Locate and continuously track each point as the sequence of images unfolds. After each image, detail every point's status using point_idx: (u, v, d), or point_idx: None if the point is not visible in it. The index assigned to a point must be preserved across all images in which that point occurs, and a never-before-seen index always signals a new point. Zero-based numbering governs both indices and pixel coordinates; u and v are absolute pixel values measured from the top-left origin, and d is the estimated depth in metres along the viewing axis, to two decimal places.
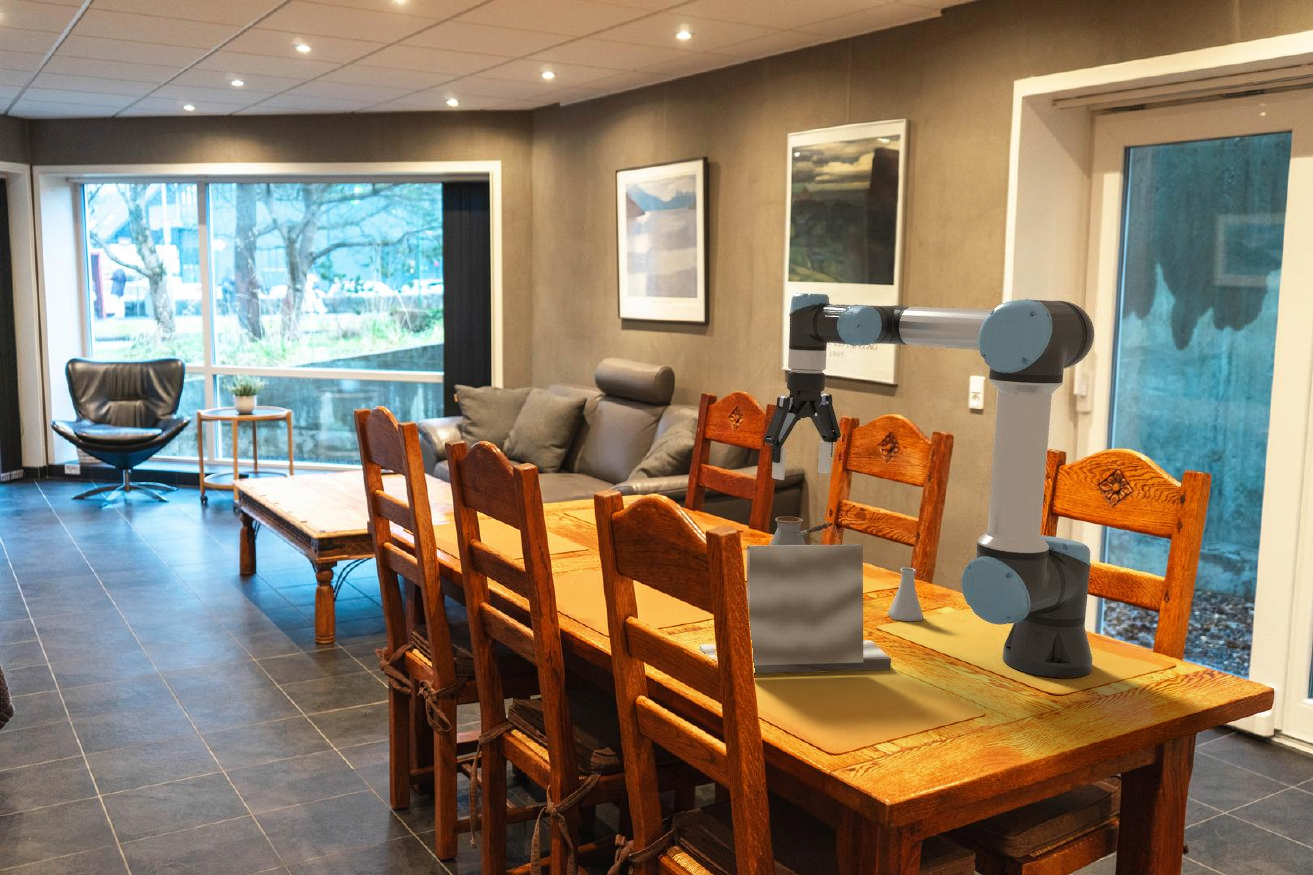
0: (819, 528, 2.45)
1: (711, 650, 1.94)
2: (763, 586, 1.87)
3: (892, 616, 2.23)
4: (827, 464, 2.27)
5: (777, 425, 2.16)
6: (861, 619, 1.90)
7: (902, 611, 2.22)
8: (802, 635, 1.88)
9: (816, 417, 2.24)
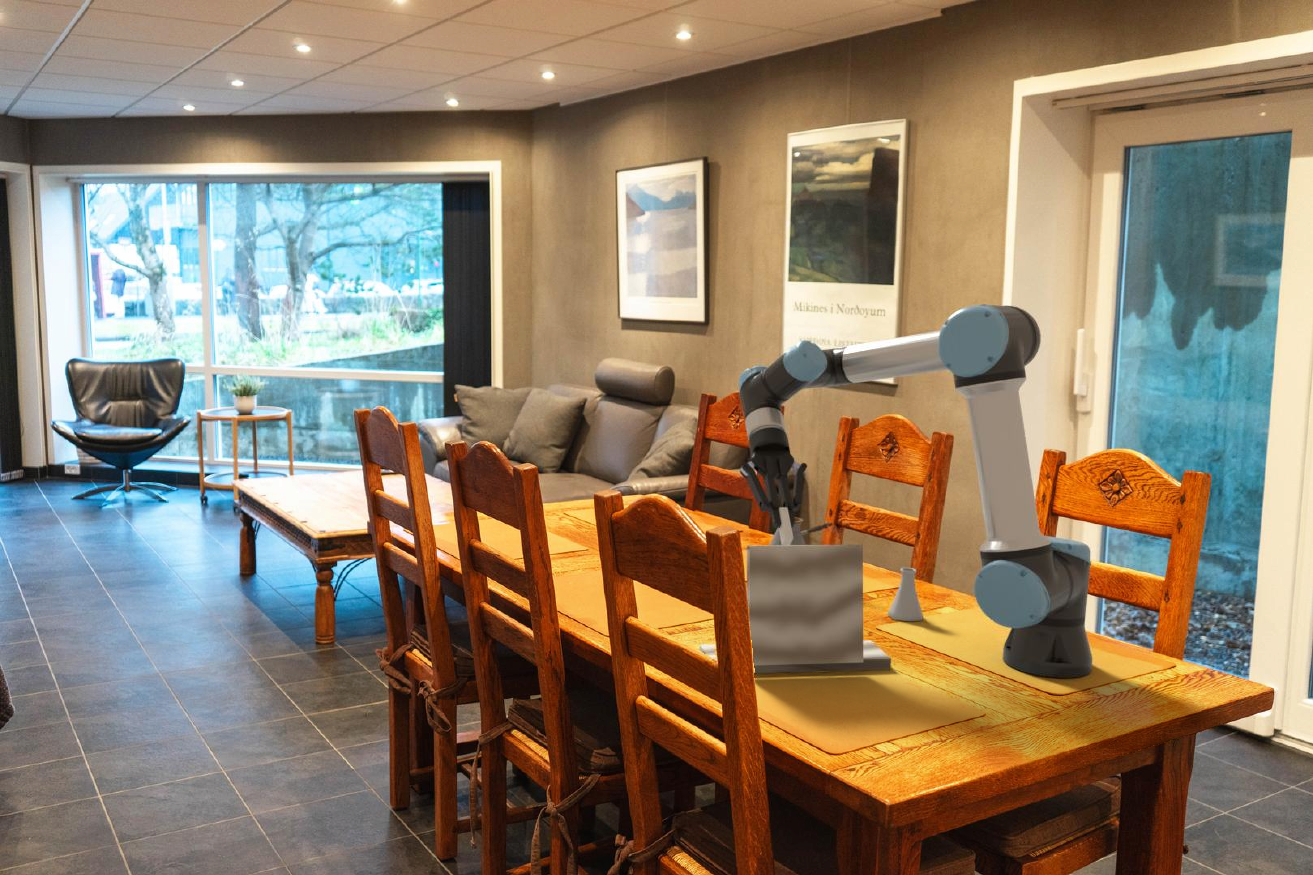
0: (819, 528, 2.45)
1: (711, 650, 1.94)
2: (763, 586, 1.87)
3: (892, 616, 2.23)
4: (787, 529, 2.00)
5: (756, 489, 2.04)
6: (861, 619, 1.90)
7: (902, 611, 2.22)
8: (802, 635, 1.88)
9: (779, 477, 2.07)
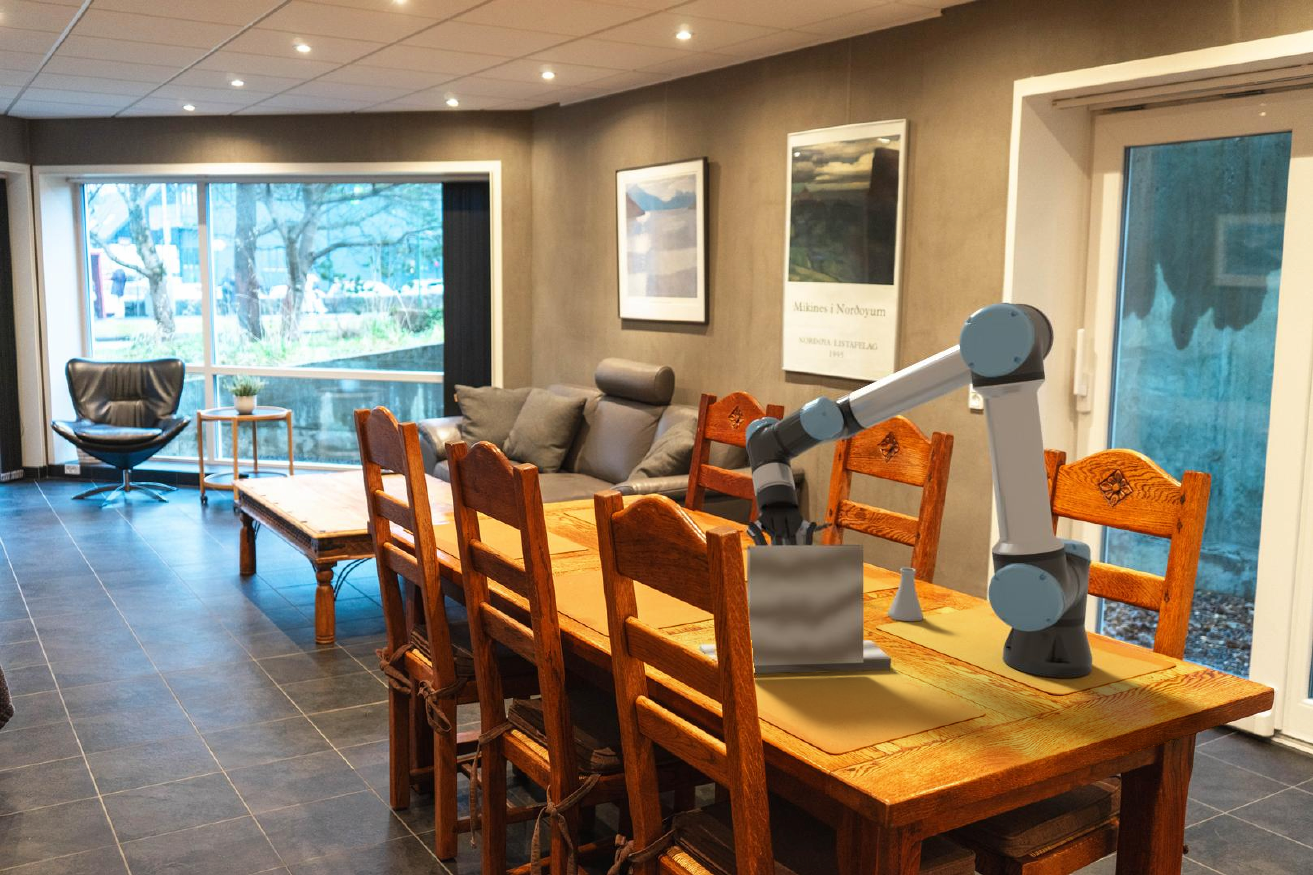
0: (819, 528, 2.45)
1: (711, 650, 1.94)
2: (764, 587, 1.87)
3: (892, 616, 2.23)
4: None
5: None
6: (861, 619, 1.89)
7: (902, 611, 2.22)
8: (802, 635, 1.88)
9: (788, 537, 1.99)
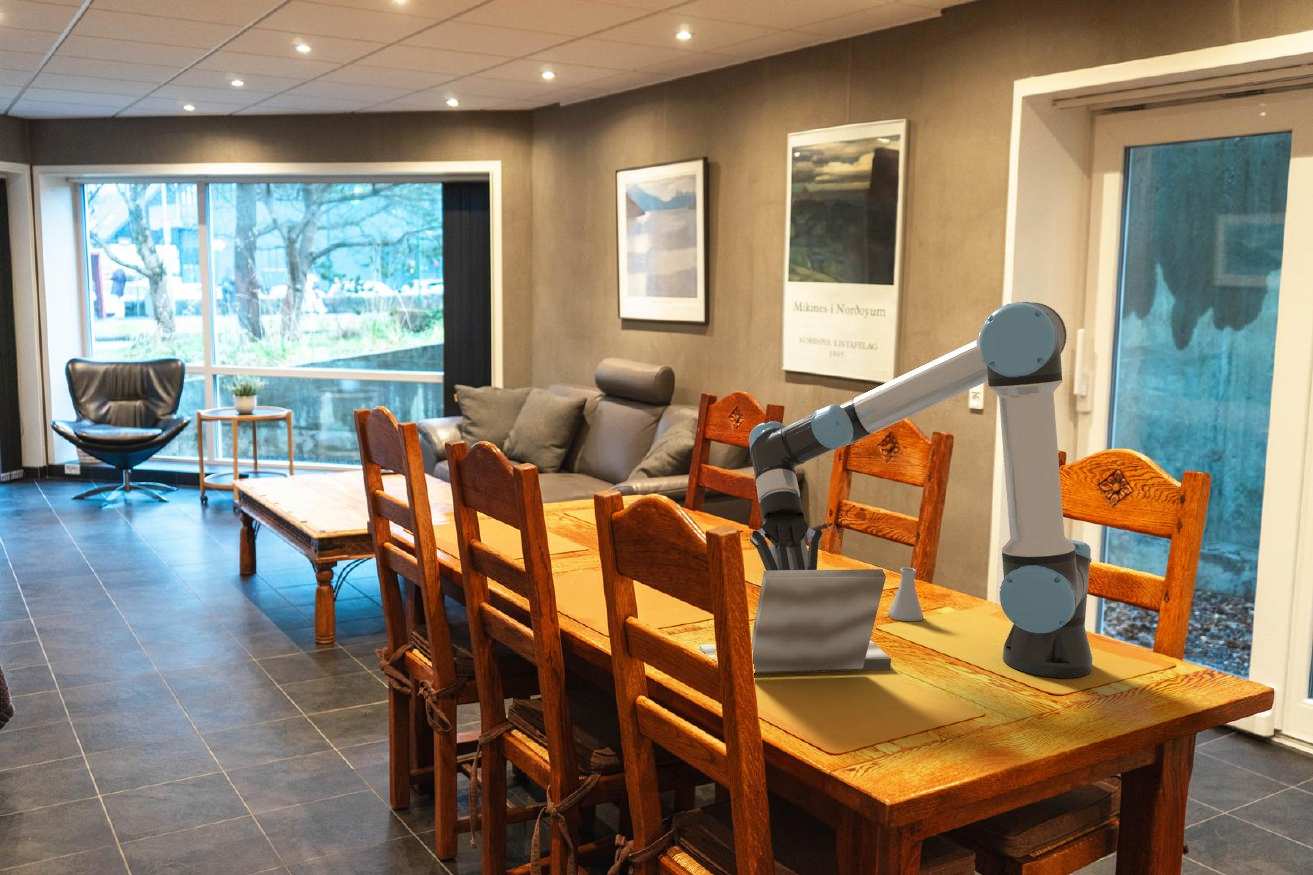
0: (819, 528, 2.45)
1: (711, 650, 1.94)
2: (775, 611, 1.80)
3: (892, 616, 2.23)
4: None
5: (767, 560, 1.90)
6: (869, 636, 1.86)
7: (902, 611, 2.22)
8: (806, 648, 1.85)
9: (792, 546, 1.93)
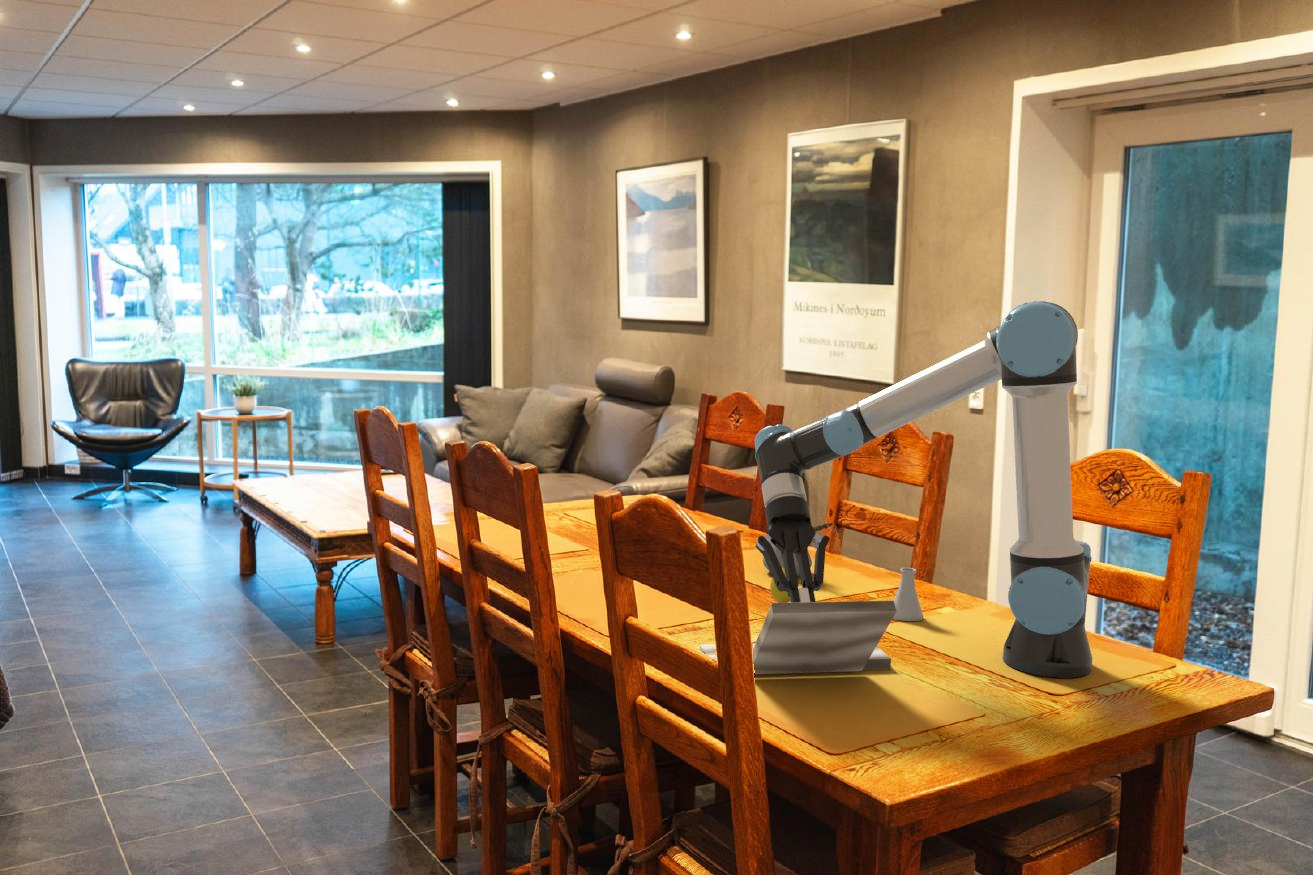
0: (819, 528, 2.45)
1: (711, 650, 1.94)
2: (779, 635, 1.77)
3: None
4: None
5: (773, 567, 1.86)
6: (872, 650, 1.84)
7: (902, 611, 2.22)
8: (807, 658, 1.85)
9: (799, 552, 1.88)
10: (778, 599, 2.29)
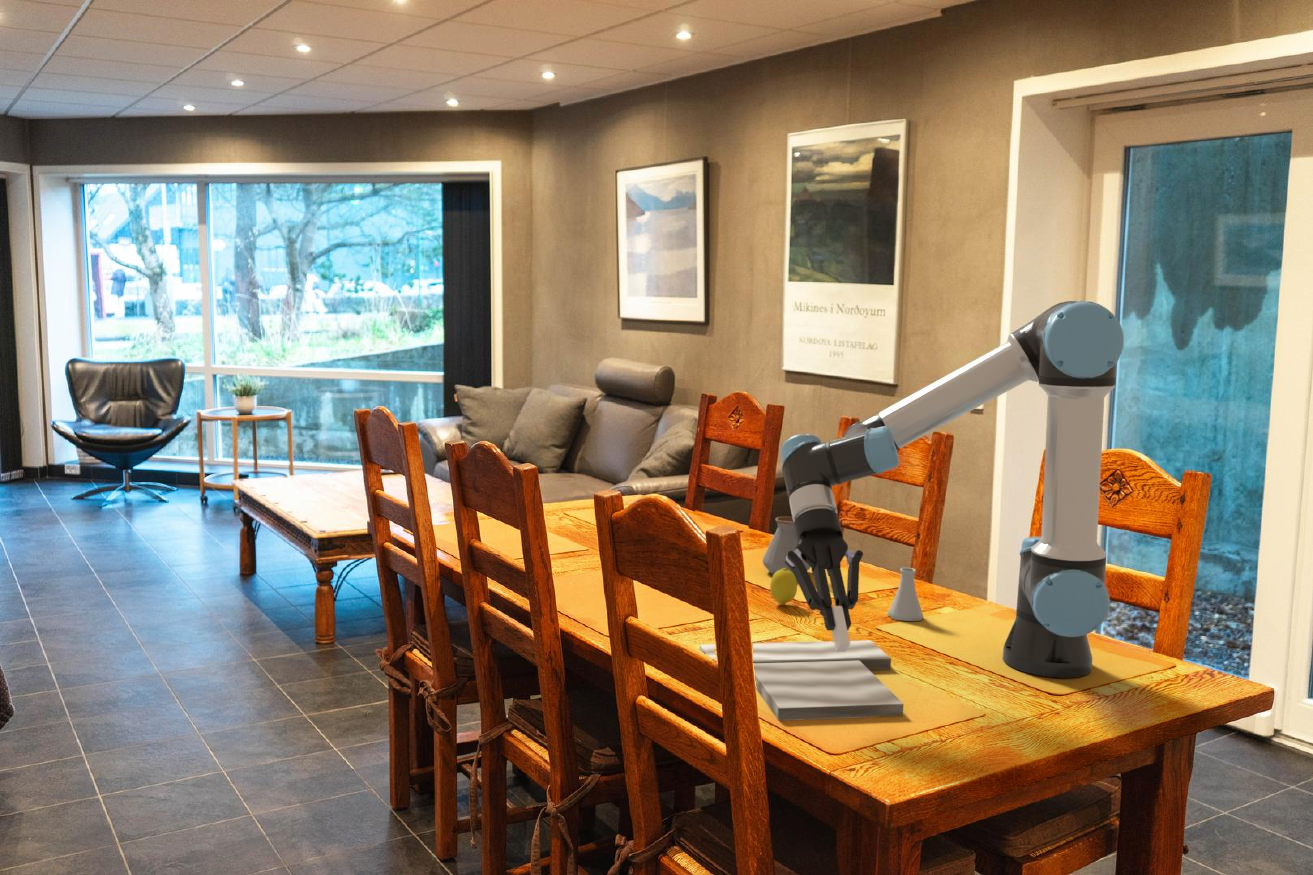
0: None
1: (711, 650, 1.94)
2: None
3: (892, 616, 2.23)
4: (843, 632, 1.70)
5: (805, 583, 1.74)
6: None
7: (902, 611, 2.22)
8: None
9: (831, 568, 1.77)
10: (778, 599, 2.29)
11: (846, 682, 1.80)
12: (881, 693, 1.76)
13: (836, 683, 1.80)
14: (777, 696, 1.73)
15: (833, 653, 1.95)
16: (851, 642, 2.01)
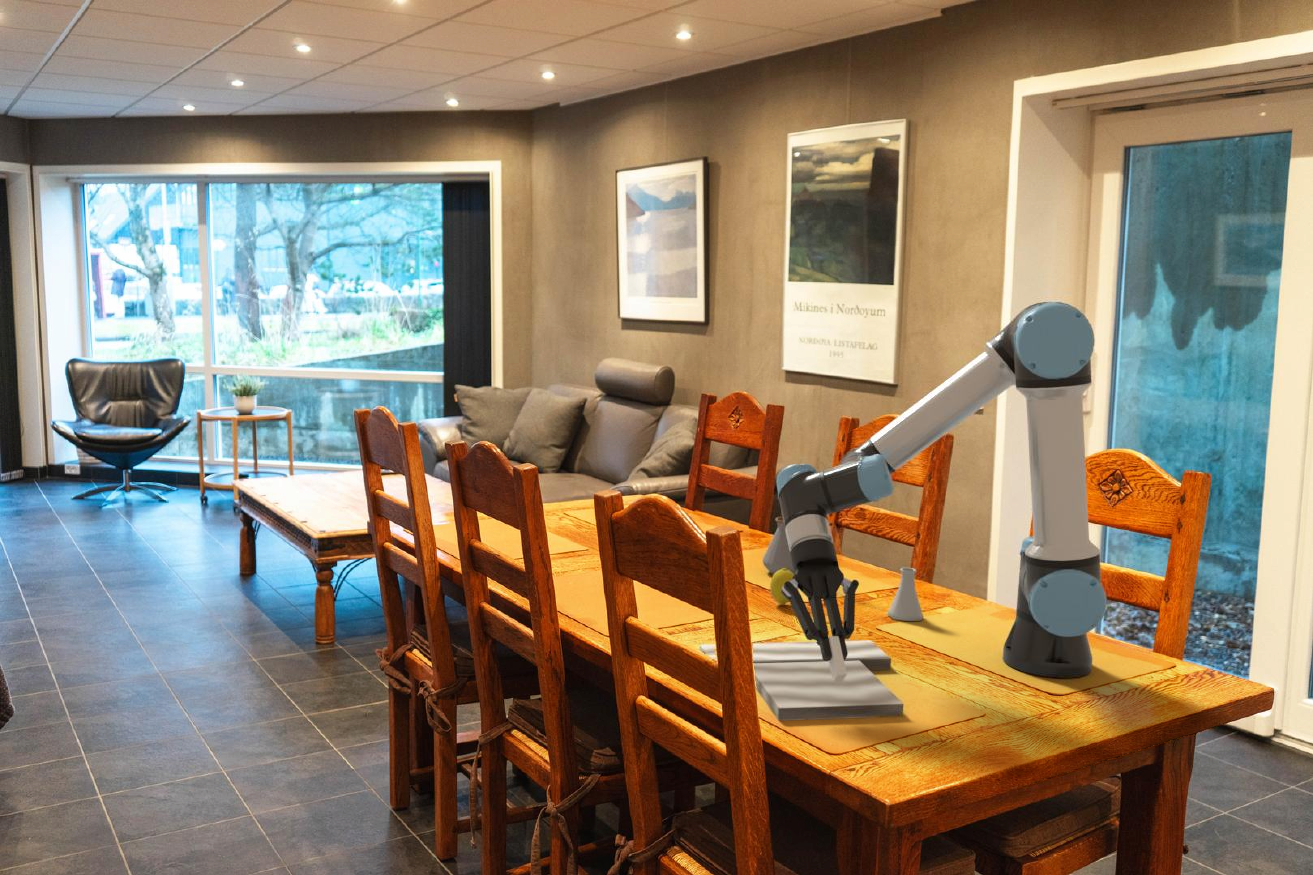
0: None
1: (711, 650, 1.94)
2: None
3: (892, 616, 2.23)
4: (839, 663, 1.72)
5: (801, 614, 1.76)
6: None
7: (902, 611, 2.22)
8: None
9: (827, 598, 1.79)
10: (778, 599, 2.29)
11: (846, 682, 1.80)
12: (881, 693, 1.76)
13: (836, 683, 1.80)
14: (777, 696, 1.73)
15: None
16: (851, 642, 2.01)
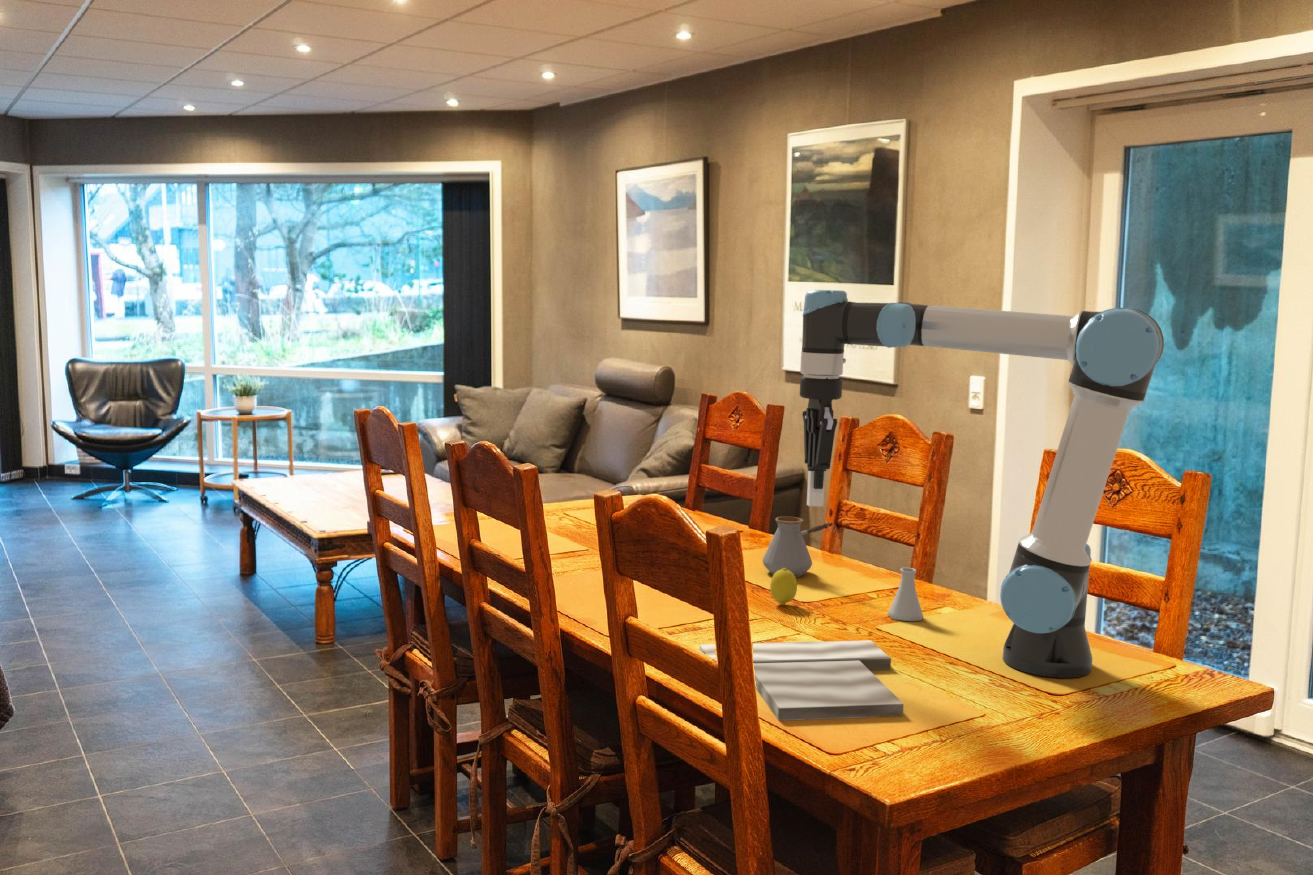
0: (819, 528, 2.45)
1: (711, 650, 1.94)
2: None
3: (892, 616, 2.23)
4: None
5: None
6: None
7: (902, 611, 2.22)
8: None
9: None
10: (778, 599, 2.29)
11: (846, 682, 1.80)
12: (881, 693, 1.76)
13: (836, 683, 1.80)
14: (777, 696, 1.73)
15: (833, 653, 1.95)
16: (851, 642, 2.01)
